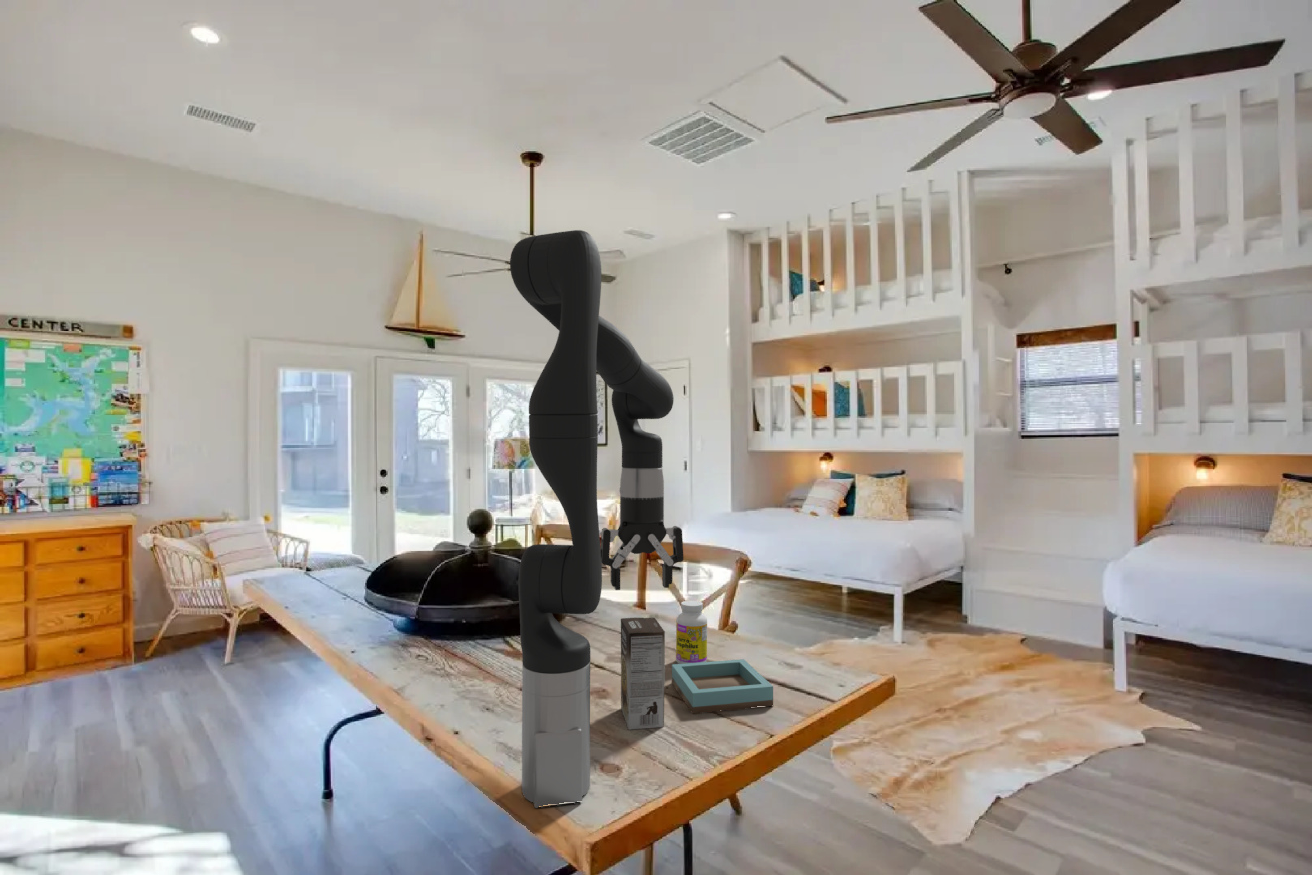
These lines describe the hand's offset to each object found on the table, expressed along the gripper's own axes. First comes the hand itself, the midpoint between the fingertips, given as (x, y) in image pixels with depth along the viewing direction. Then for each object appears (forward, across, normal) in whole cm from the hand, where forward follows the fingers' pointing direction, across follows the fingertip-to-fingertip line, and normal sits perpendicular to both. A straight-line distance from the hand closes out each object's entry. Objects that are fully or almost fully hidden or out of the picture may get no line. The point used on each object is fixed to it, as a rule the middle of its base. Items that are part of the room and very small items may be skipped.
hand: (641, 588), depth 112 cm
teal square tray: (+22, +16, +7) cm, 29 cm away
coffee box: (+22, 0, 0) cm, 23 cm away
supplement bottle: (+23, +16, +25) cm, 37 cm away
